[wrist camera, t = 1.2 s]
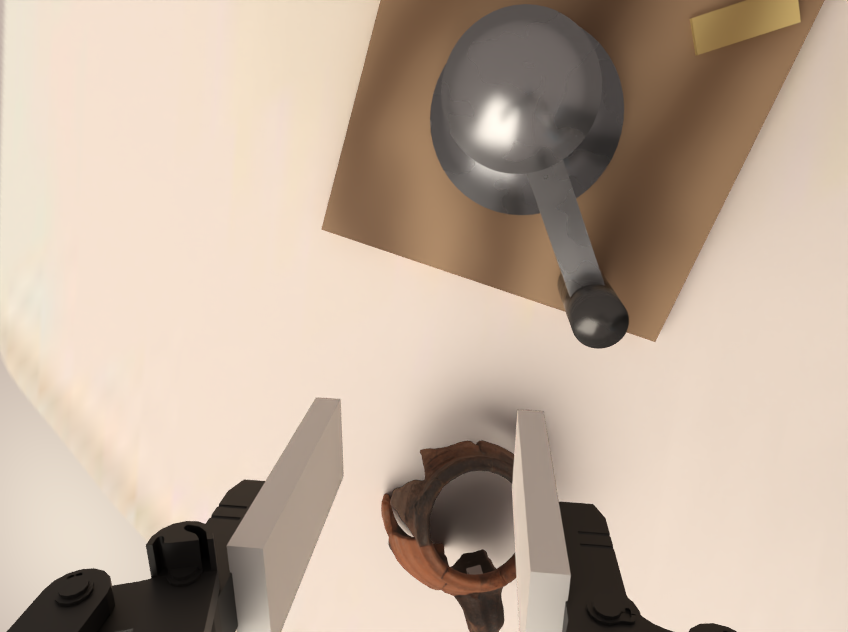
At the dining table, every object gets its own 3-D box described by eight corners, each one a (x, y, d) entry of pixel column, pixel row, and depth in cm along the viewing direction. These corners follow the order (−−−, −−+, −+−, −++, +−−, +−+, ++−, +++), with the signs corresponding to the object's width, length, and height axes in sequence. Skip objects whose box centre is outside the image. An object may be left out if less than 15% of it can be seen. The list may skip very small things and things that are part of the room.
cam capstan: (403, 65, 29) (381, 55, 23) (586, -19, 27) (612, -53, 21) (506, 330, 33) (509, 378, 27) (673, 273, 31) (714, 312, 25)
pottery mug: (352, 459, 39) (372, 484, 31) (481, 404, 41) (529, 414, 34) (417, 630, 39) (453, 699, 31) (541, 566, 42) (604, 615, 34)
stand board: (831, -38, 27) (882, -59, 24) (649, 333, 34) (668, 361, 30) (420, -177, 27) (409, -220, 23) (318, 222, 34) (298, 236, 30)
